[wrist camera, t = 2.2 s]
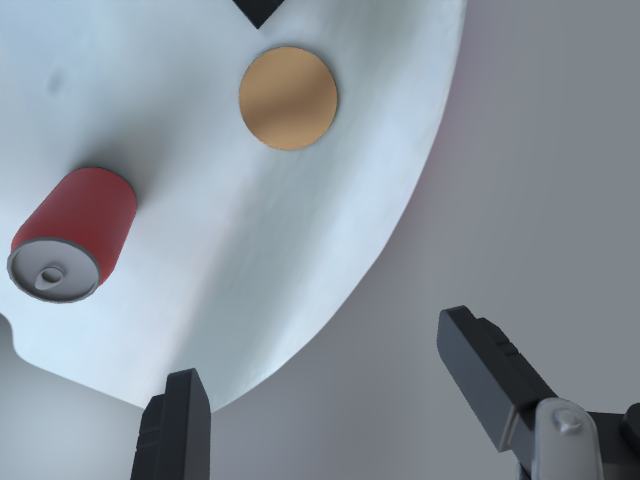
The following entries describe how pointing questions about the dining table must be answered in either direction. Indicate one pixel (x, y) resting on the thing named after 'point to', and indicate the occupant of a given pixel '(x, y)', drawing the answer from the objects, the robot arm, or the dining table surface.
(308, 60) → the cork coaster
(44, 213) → the beer can
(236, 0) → the can holder
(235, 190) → the dining table surface
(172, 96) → the dining table surface
